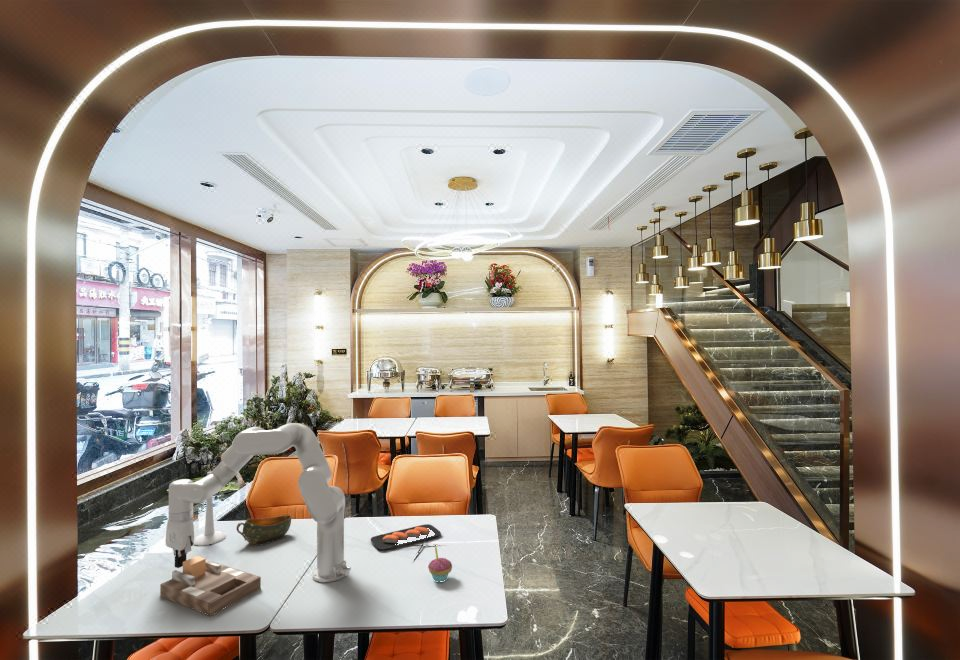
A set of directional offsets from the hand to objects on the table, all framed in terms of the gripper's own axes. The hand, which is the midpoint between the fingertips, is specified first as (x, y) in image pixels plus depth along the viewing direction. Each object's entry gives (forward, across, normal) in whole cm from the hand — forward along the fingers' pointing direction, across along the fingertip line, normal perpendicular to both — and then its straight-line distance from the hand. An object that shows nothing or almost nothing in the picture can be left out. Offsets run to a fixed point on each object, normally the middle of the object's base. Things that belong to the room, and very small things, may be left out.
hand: (180, 565), depth 166 cm
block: (+1, +8, 0) cm, 8 cm away
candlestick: (+6, -25, +27) cm, 37 cm away
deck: (+5, +18, 0) cm, 18 cm away
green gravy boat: (+6, -2, +37) cm, 37 cm away
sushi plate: (+6, +60, +60) cm, 85 cm away
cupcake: (+6, +85, +41) cm, 95 cm away
